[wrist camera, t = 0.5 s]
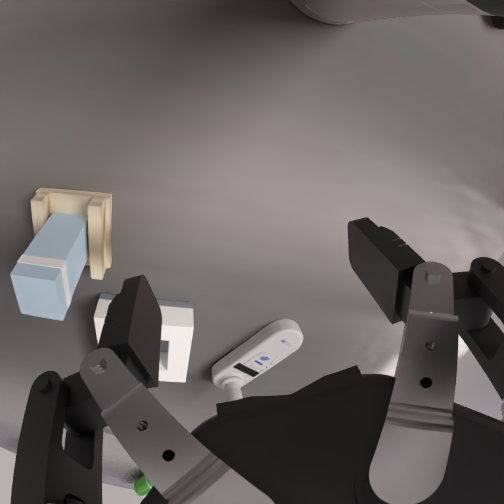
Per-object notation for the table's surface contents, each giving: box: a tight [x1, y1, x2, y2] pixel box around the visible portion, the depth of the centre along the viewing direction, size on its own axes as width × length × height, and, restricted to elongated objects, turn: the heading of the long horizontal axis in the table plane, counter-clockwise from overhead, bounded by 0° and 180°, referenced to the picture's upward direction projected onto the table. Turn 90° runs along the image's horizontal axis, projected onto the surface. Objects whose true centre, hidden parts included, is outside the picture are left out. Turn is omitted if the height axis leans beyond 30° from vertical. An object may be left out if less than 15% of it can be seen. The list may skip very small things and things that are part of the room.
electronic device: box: [211, 319, 303, 402], centre depth 39 cm, size 5×10×15 cm
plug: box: [10, 212, 89, 321], centre depth 23 cm, size 4×4×10 cm
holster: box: [31, 187, 112, 280], centre depth 27 cm, size 8×8×3 cm
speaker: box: [134, 475, 153, 498], centre depth 69 cm, size 18×7×8 cm, turn 148°
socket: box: [94, 293, 194, 382], centre depth 36 cm, size 11×11×4 cm
